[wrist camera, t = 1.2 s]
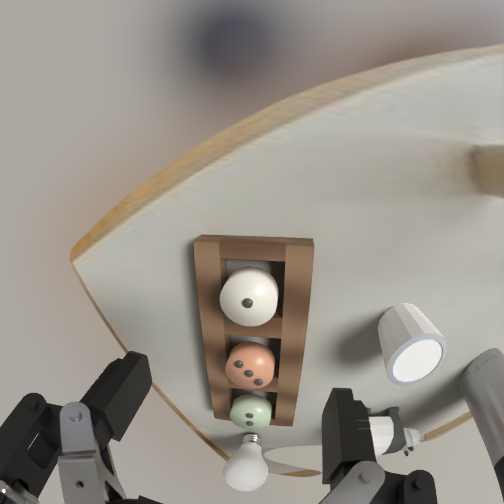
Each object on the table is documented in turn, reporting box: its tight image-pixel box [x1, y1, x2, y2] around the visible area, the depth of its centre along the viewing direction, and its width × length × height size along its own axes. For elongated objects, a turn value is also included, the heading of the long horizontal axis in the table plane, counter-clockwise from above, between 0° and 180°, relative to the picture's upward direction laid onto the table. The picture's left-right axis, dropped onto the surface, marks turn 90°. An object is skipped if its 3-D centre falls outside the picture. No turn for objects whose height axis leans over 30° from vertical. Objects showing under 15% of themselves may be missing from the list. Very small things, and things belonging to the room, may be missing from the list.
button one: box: [220, 266, 278, 326], centre depth 25 cm, size 5×5×2 cm
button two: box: [230, 394, 272, 430], centre depth 30 cm, size 5×5×2 cm
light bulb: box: [223, 434, 268, 491], centre depth 33 cm, size 7×7×11 cm
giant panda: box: [367, 407, 425, 456], centre depth 29 cm, size 12×5×8 cm, turn 84°
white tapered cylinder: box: [377, 303, 448, 386], centre depth 24 cm, size 7×7×7 cm
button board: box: [193, 235, 314, 426], centre depth 30 cm, size 26×11×2 cm, turn 0°
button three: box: [225, 342, 275, 389], centre depth 27 cm, size 5×5×2 cm
